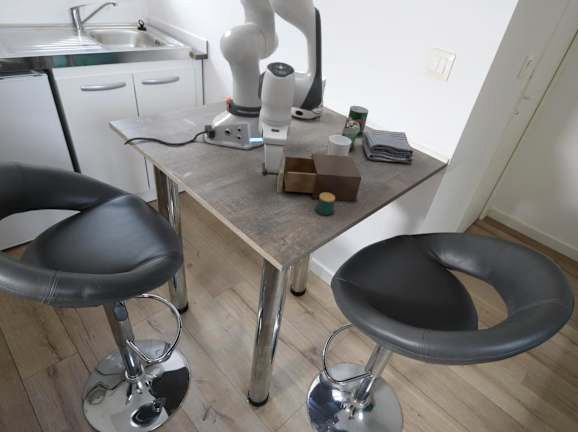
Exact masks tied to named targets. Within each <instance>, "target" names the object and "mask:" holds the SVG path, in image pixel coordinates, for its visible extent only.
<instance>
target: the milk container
mask: <svg viewBox="0 0 578 432" xmlns="http://www.w3.org/2000/svg"><path fill="white" fill-rule="evenodd" d="M307 71H308V70H296V71H295V72H299V73H306V72H307ZM326 81H327V78H326V77H325V76H324V75H322V82H323V96H324V94H325V89H326ZM323 111H324V98H323V99H322V102H321V104H320V105H319V106H318V107H317V108H315V109H313V110H311V111H307V110H303V109H299V108H295V107H292V108H291V115H292V118H295V119H299V120H306V121H311V120H312V121H313V120H317V119H319V118H320V117H321V116H322V114H323Z"/></svg>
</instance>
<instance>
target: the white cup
mask: <svg viewBox="0 0 578 432" xmlns="http://www.w3.org/2000/svg"><path fill="white" fill-rule="evenodd" d="M350 146H351V140H350V139H349V138H347V137H345V136H342V134H341V135H340V134H333V135H329V136H328V142H327V148H326V155H336V156H347V157H349V153H350V151H349V149H350Z"/></svg>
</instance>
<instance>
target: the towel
mask: <svg viewBox="0 0 578 432" xmlns="http://www.w3.org/2000/svg"><path fill="white" fill-rule="evenodd" d="M361 145H362V147H363V149H364V152H365V154H366V157H367V159H368V160H371V161H379V162H393V163H406V164H411V163H412V161H413V160H414V157H413V156H414V149H413V147H412V146H411V145H410V143H409V141H408V138H407V134H406V132H403V131H391V130H384V129H383V130H381V129H368V130H366V131H363V138H362V139H361Z"/></svg>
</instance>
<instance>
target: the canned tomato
mask: <svg viewBox="0 0 578 432" xmlns="http://www.w3.org/2000/svg"><path fill="white" fill-rule="evenodd" d="M368 114H369V110H368V108H366V107H364V106H359V105H351V106H350V107H349V112H348V116H347V118H348V119H352V120H354V121H356V122H358V123H359V126H360V132H359V133H357V136H356V138H361V137H364V132H365V127H366V123H367V119H368Z"/></svg>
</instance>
